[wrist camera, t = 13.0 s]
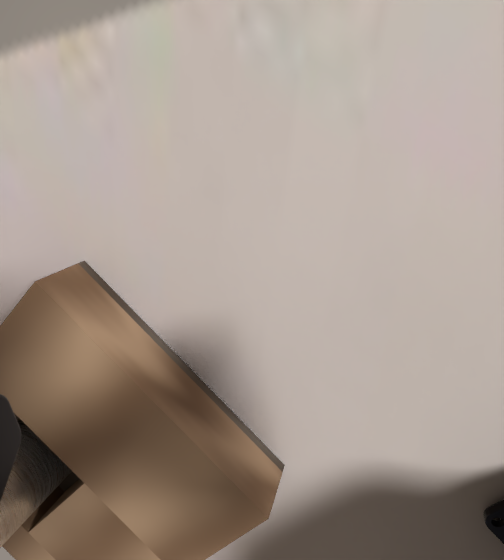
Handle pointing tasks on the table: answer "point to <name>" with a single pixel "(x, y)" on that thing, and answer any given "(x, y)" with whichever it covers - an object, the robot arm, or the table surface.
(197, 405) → the pocket board
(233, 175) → the table surface
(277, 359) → the table surface
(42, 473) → the aluminium peg
